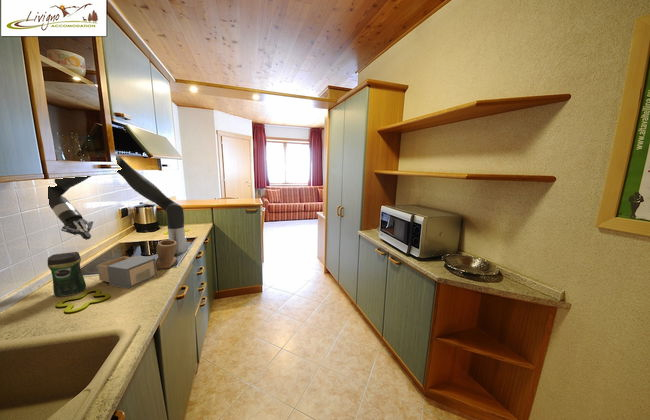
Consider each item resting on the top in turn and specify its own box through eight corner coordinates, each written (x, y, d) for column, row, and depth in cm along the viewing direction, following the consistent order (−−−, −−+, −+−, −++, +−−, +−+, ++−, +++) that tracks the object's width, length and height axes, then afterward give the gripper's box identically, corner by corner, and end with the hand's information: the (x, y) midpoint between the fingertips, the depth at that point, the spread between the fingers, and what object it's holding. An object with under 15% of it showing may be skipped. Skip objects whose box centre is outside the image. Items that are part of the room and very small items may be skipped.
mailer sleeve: (139, 272, 124) (136, 255, 122) (157, 275, 121) (155, 257, 119) (110, 285, 110) (106, 266, 108) (129, 288, 108) (126, 269, 106)
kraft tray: (125, 270, 124) (123, 256, 123) (155, 274, 120) (153, 260, 118) (99, 280, 113) (97, 265, 111) (131, 285, 108) (129, 270, 107)
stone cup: (175, 269, 129) (172, 243, 127) (150, 271, 126) (147, 245, 123) (182, 259, 143) (180, 236, 141) (160, 260, 140) (157, 237, 137)
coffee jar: (89, 285, 110) (82, 249, 106) (82, 293, 103) (74, 254, 100) (60, 290, 105) (52, 252, 102) (50, 299, 98) (42, 258, 95)
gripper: (52, 211, 111) (75, 237, 111) (86, 207, 124) (106, 230, 123) (47, 220, 113) (69, 246, 113) (80, 215, 126) (100, 239, 126)
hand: (88, 238), depth 118 cm, fingers closed
